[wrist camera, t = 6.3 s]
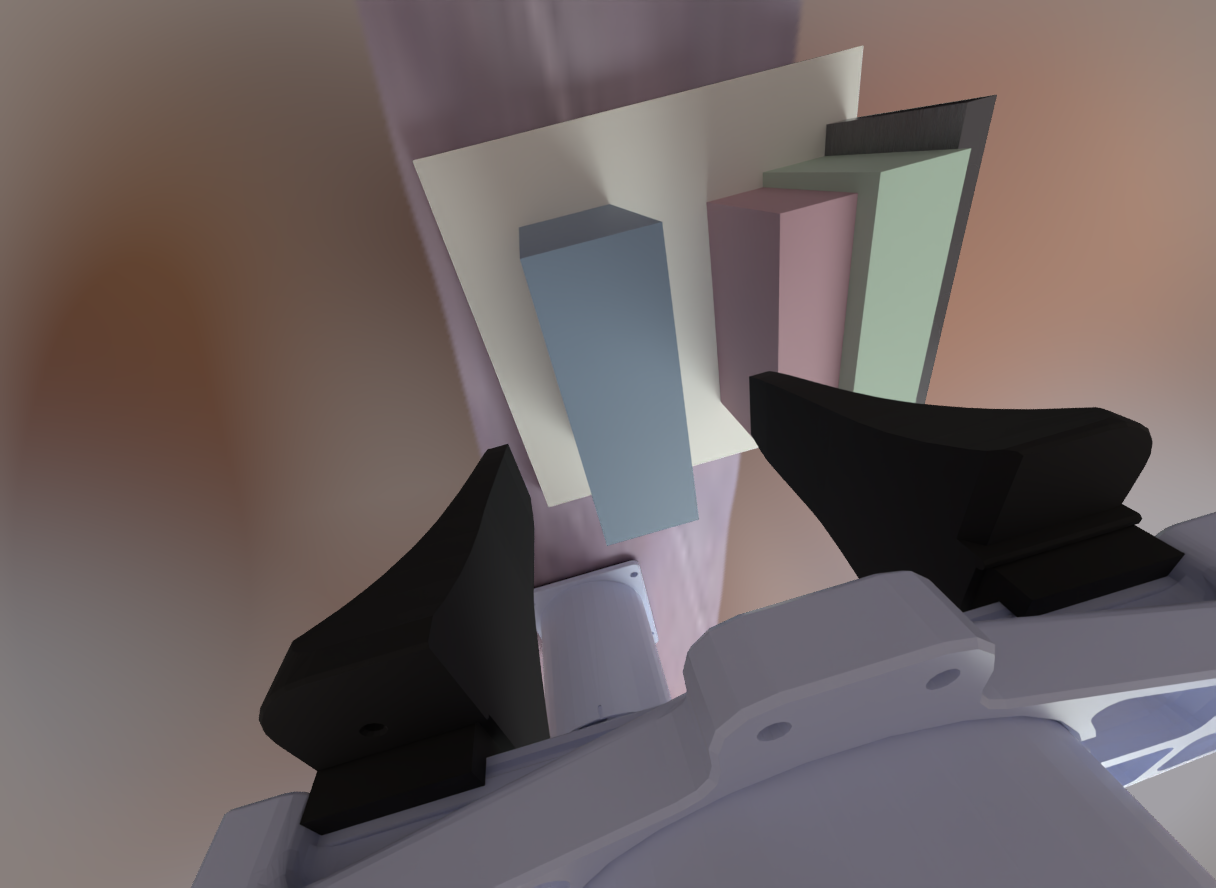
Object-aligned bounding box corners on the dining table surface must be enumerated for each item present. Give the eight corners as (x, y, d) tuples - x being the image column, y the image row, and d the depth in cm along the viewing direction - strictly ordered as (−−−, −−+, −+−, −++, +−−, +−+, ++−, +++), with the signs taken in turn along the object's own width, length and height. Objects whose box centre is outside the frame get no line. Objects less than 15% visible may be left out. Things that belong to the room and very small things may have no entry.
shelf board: (815, 417, 25) (828, 427, 24) (547, 493, 24) (548, 507, 23) (841, 53, 16) (863, 45, 15) (419, 161, 15) (412, 160, 14)
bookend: (823, 398, 23) (910, 462, 18) (809, 402, 23) (892, 467, 18) (846, 119, 16) (996, 94, 11) (826, 124, 16) (967, 102, 11)
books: (810, 385, 22) (904, 453, 17) (721, 410, 22) (787, 487, 17) (824, 156, 16) (971, 147, 11) (705, 187, 16) (796, 194, 11)
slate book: (649, 426, 22) (698, 519, 16) (582, 444, 21) (607, 545, 16) (609, 204, 16) (662, 221, 10) (518, 227, 16) (519, 258, 10)
